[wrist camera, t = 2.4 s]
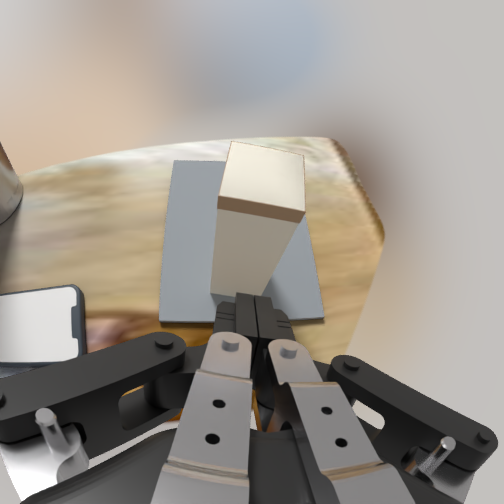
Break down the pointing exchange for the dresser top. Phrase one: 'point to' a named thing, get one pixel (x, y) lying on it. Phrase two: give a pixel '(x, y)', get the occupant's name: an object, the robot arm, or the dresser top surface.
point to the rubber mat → (202, 246)
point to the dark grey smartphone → (42, 326)
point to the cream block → (255, 216)
